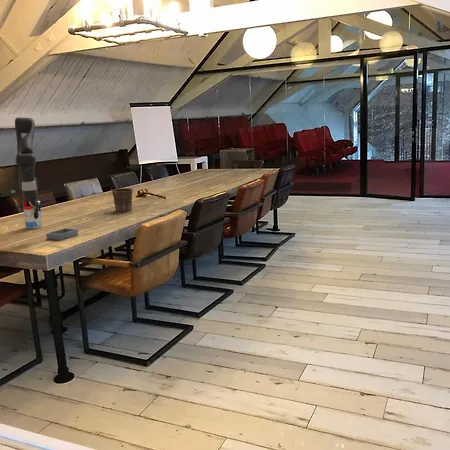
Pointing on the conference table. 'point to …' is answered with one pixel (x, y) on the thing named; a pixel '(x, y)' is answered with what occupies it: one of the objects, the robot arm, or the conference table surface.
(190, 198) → the conference table surface
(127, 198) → the plant pot
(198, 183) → the conference table surface
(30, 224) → the ink box
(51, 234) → the tray
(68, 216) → the conference table surface
